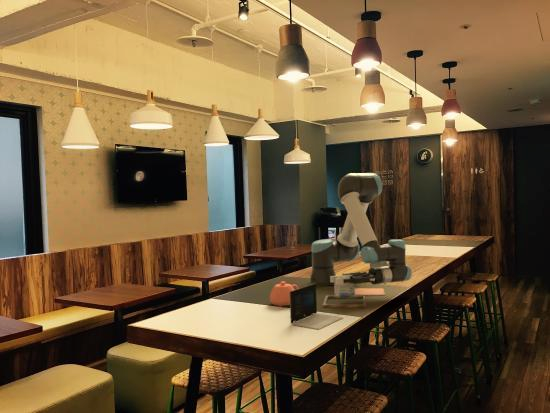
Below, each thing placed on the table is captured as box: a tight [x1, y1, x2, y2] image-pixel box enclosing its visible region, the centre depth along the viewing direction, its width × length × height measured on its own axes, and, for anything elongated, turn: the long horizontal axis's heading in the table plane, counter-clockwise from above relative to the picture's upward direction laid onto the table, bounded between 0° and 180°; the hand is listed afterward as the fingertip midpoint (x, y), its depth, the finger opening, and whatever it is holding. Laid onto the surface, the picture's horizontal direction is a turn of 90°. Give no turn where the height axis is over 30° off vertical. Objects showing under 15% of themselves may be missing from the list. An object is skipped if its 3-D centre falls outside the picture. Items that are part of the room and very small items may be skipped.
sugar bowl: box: [269, 281, 299, 308], centre depth 204 cm, size 12×14×10 cm
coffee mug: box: [369, 261, 389, 270], centre depth 285 cm, size 13×10×10 cm
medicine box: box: [333, 275, 356, 297], centre depth 203 cm, size 8×4×9 cm, turn 110°
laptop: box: [289, 283, 344, 330], centre depth 175 cm, size 18×12×13 cm
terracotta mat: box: [354, 287, 386, 296], centre depth 222 cm, size 14×14×1 cm
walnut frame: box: [322, 295, 367, 308], centre depth 203 cm, size 18×18×1 cm
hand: (333, 280), depth 201 cm, fingers closed on medicine box, 4 cm apart
